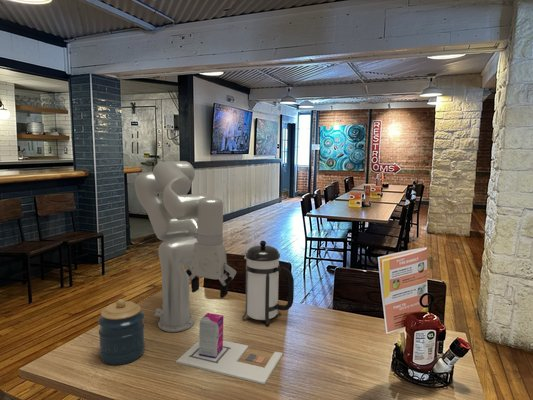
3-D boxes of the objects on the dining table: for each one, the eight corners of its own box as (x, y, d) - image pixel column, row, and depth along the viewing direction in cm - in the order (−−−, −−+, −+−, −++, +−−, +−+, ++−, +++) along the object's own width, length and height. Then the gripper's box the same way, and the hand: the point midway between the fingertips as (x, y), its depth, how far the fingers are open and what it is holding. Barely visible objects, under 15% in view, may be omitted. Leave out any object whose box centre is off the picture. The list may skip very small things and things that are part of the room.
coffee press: (246, 330, 131) (247, 247, 127) (239, 311, 147) (239, 236, 143) (293, 325, 135) (295, 245, 131) (281, 307, 151) (283, 235, 147)
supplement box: (216, 358, 112) (216, 322, 110) (198, 355, 113) (198, 320, 112) (223, 349, 117) (223, 314, 116) (206, 346, 119) (206, 312, 117)
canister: (130, 368, 107) (128, 310, 105) (90, 363, 109) (87, 306, 107) (152, 345, 120) (151, 293, 117) (115, 341, 122) (113, 289, 120)
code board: (176, 362, 110) (176, 360, 110) (203, 337, 125) (203, 335, 125) (264, 384, 101) (264, 382, 101) (282, 354, 116) (282, 352, 116)
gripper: (177, 238, 110) (178, 293, 113) (230, 245, 104) (229, 303, 107) (191, 233, 117) (191, 284, 120) (241, 239, 111) (240, 294, 114)
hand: (209, 293), depth 113 cm, fingers open, 9 cm apart
